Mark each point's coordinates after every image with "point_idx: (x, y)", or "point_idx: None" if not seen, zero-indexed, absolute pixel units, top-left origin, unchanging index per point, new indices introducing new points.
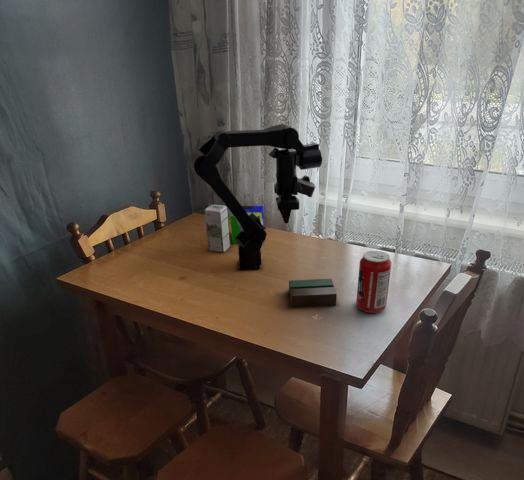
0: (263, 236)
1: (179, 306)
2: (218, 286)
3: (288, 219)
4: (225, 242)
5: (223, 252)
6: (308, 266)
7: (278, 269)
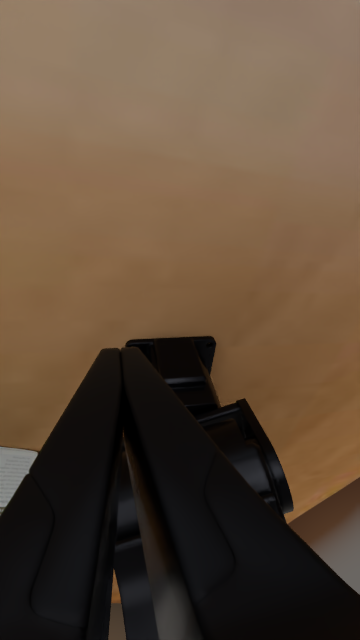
0: (275, 456)
1: (341, 470)
2: (287, 427)
3: (163, 383)
4: (6, 482)
5: (36, 452)
6: (247, 76)
7: (233, 262)
